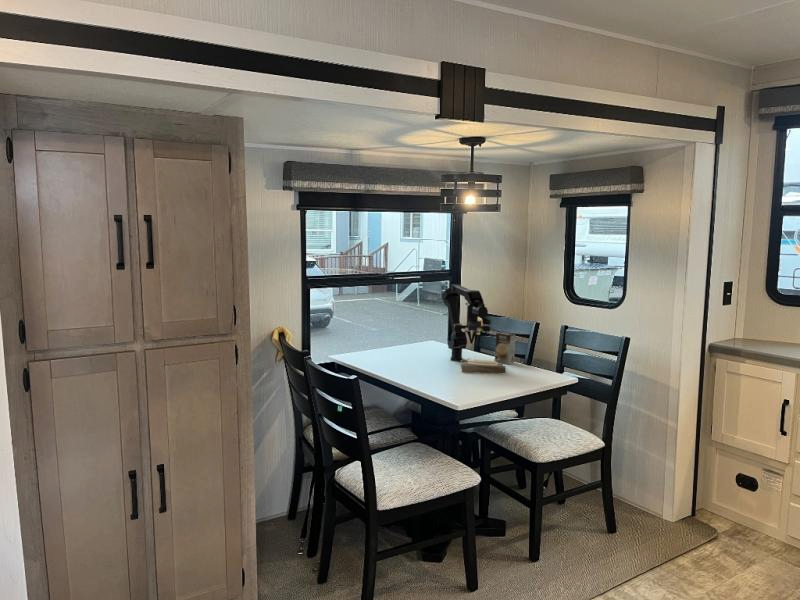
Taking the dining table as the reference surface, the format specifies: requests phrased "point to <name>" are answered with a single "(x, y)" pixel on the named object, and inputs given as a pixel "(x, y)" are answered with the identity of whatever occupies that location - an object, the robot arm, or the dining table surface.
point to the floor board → (482, 368)
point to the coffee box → (505, 347)
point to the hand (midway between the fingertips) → (471, 343)
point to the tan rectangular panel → (482, 362)
